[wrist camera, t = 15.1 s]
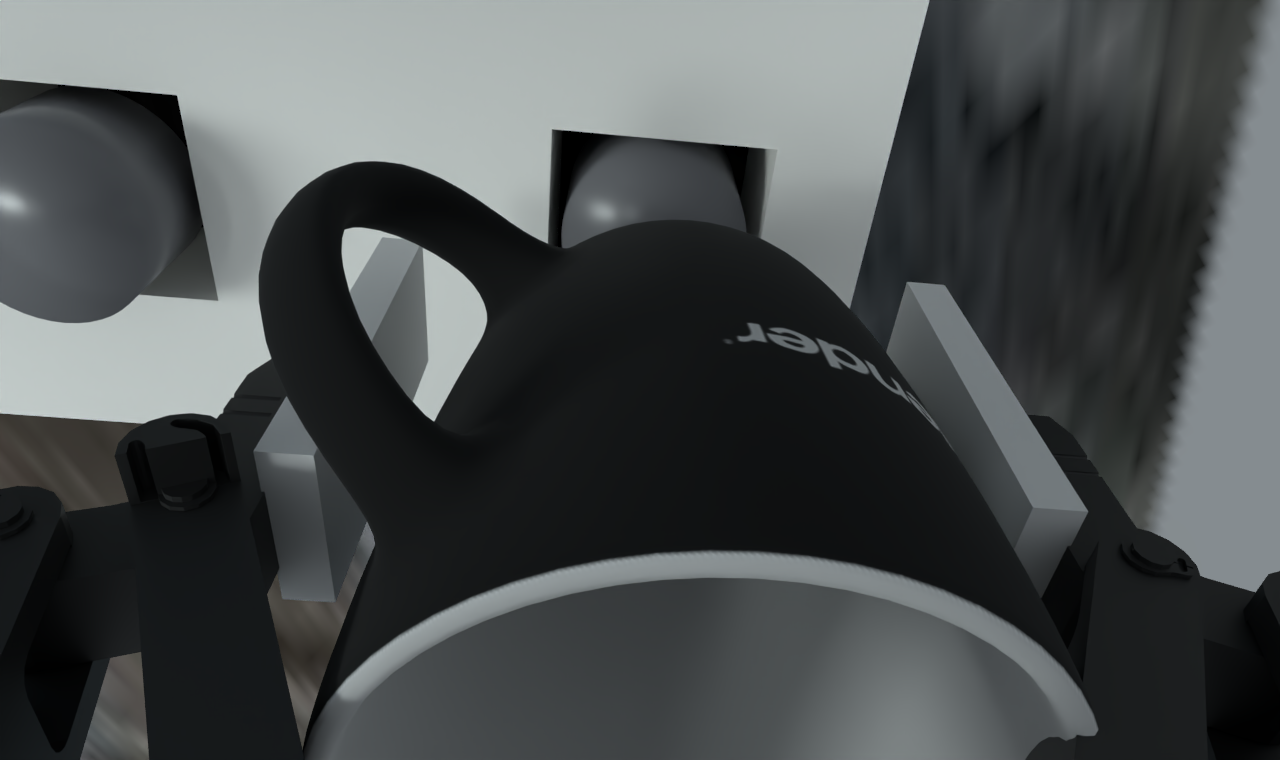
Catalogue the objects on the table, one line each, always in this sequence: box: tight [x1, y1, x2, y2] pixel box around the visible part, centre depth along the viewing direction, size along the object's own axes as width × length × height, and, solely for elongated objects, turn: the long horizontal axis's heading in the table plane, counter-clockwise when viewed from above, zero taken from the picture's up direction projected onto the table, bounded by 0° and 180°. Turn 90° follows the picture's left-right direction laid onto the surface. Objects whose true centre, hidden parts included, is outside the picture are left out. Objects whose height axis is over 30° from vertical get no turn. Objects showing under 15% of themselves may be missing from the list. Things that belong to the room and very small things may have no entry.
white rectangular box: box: [0, 0, 929, 423], centre depth 22 cm, size 22×13×4 cm, turn 85°
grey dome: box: [561, 133, 746, 248], centre depth 22 cm, size 4×4×3 cm
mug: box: [259, 161, 1099, 760], centre depth 13 cm, size 12×9×10 cm
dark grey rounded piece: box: [0, 86, 203, 323], centre depth 19 cm, size 4×4×3 cm
